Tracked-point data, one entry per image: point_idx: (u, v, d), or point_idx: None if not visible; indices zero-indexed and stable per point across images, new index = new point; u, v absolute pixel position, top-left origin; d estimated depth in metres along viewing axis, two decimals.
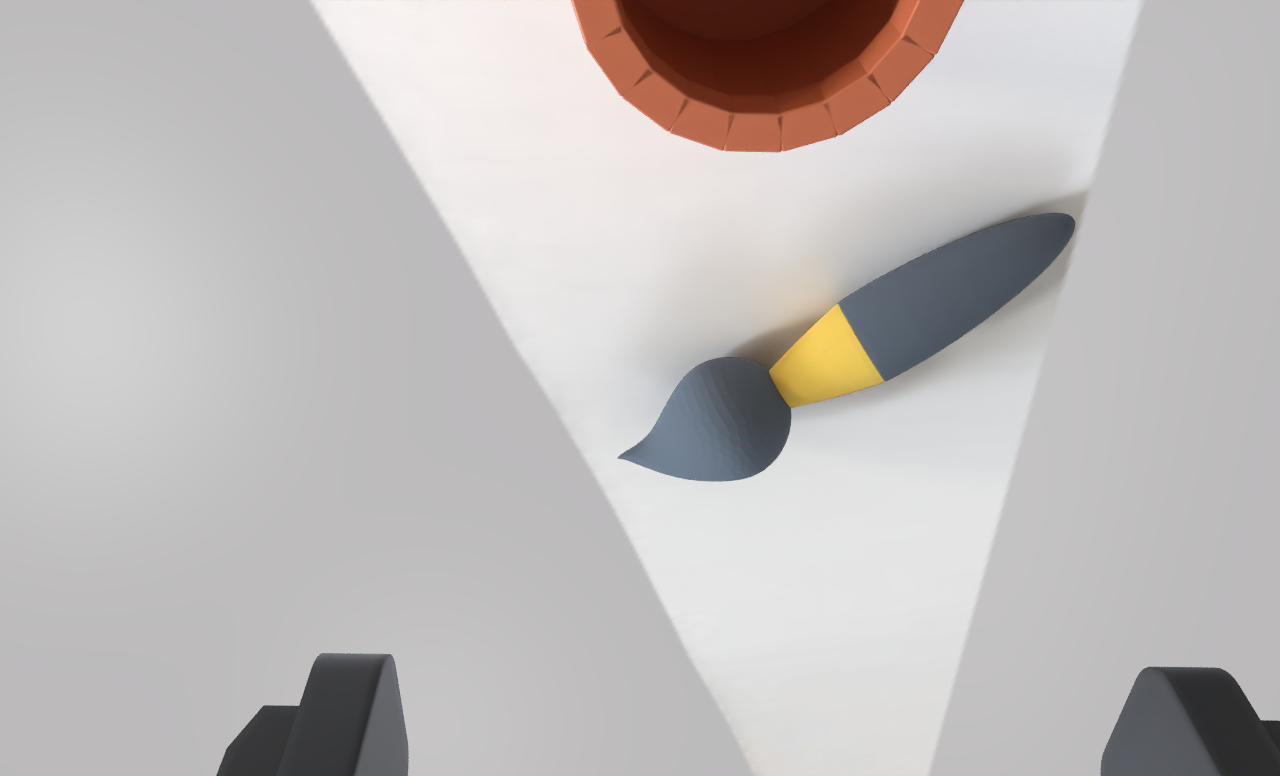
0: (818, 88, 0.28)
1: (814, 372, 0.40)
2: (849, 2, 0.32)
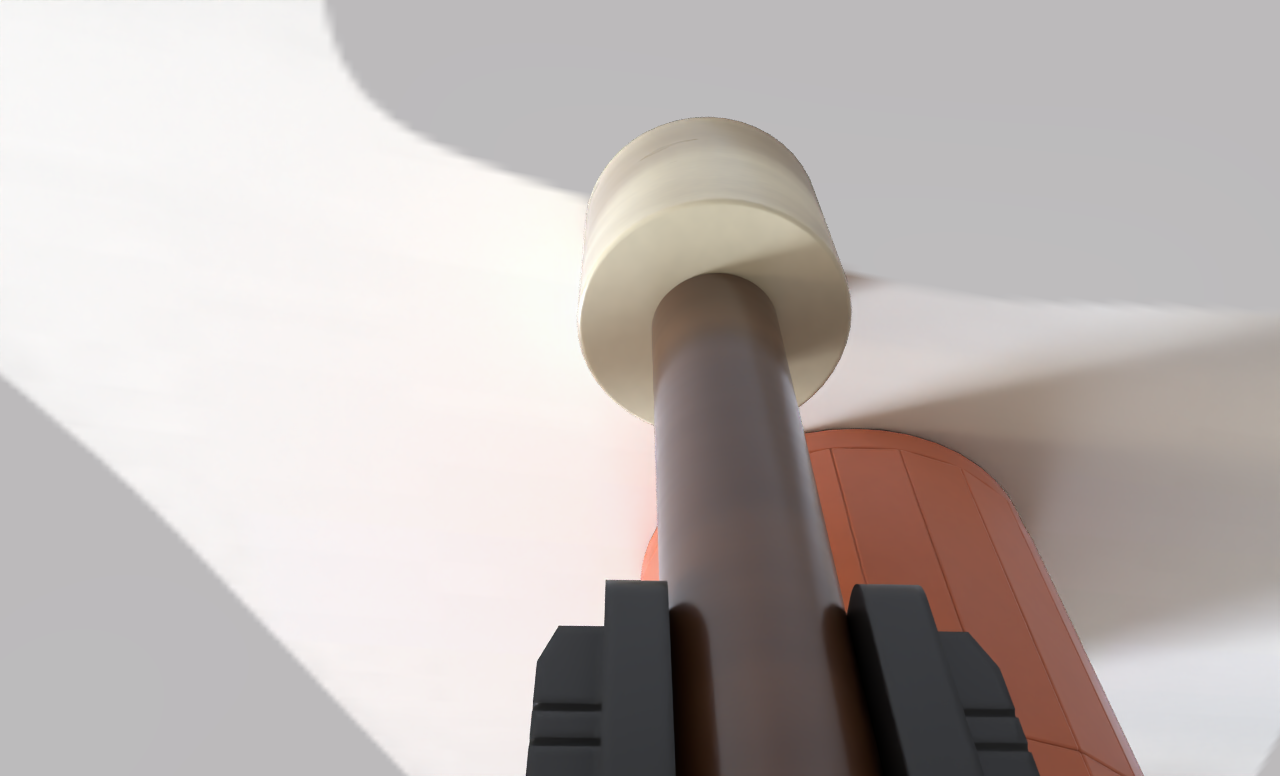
0: None
1: None
2: None
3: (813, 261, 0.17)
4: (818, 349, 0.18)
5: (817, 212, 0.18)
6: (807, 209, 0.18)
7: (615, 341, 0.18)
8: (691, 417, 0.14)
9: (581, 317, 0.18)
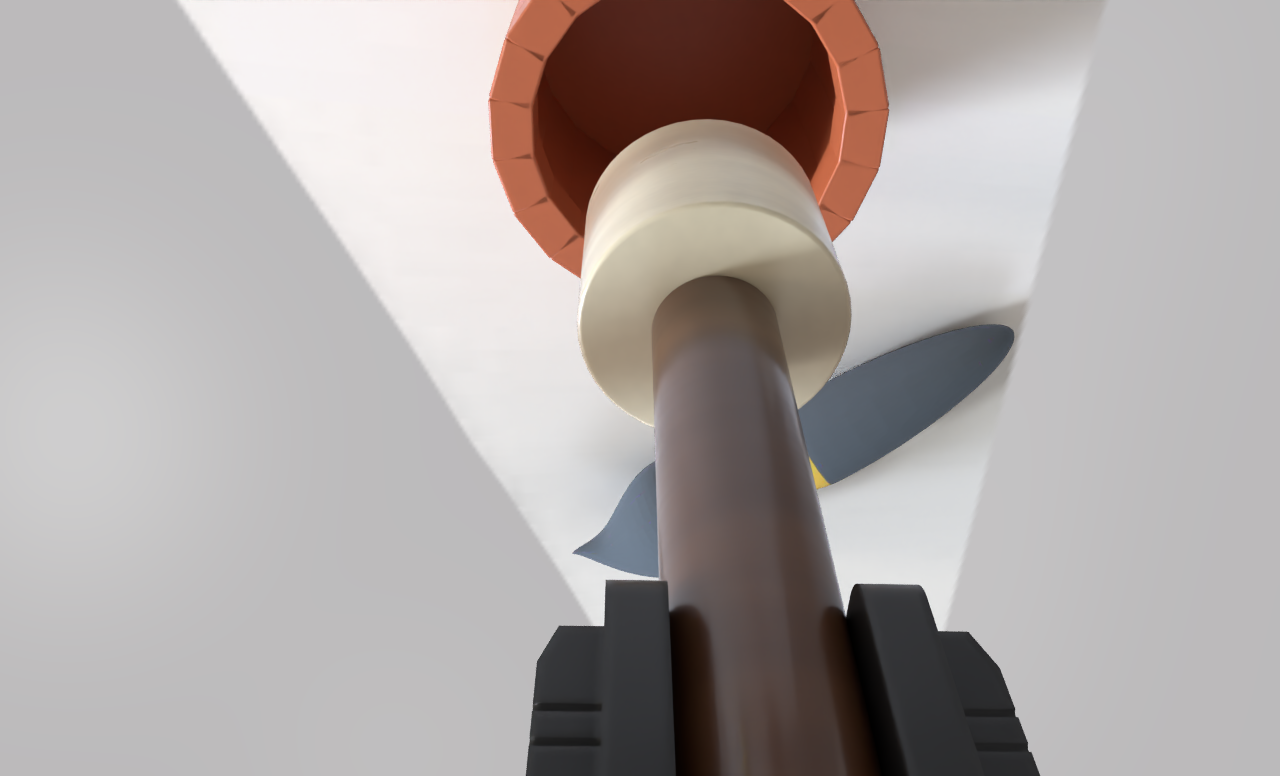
0: None
1: None
2: (783, 139, 0.33)
3: (812, 264, 0.17)
4: (818, 351, 0.18)
5: (817, 214, 0.18)
6: (807, 211, 0.18)
7: (616, 343, 0.18)
8: (691, 419, 0.14)
9: (581, 319, 0.18)
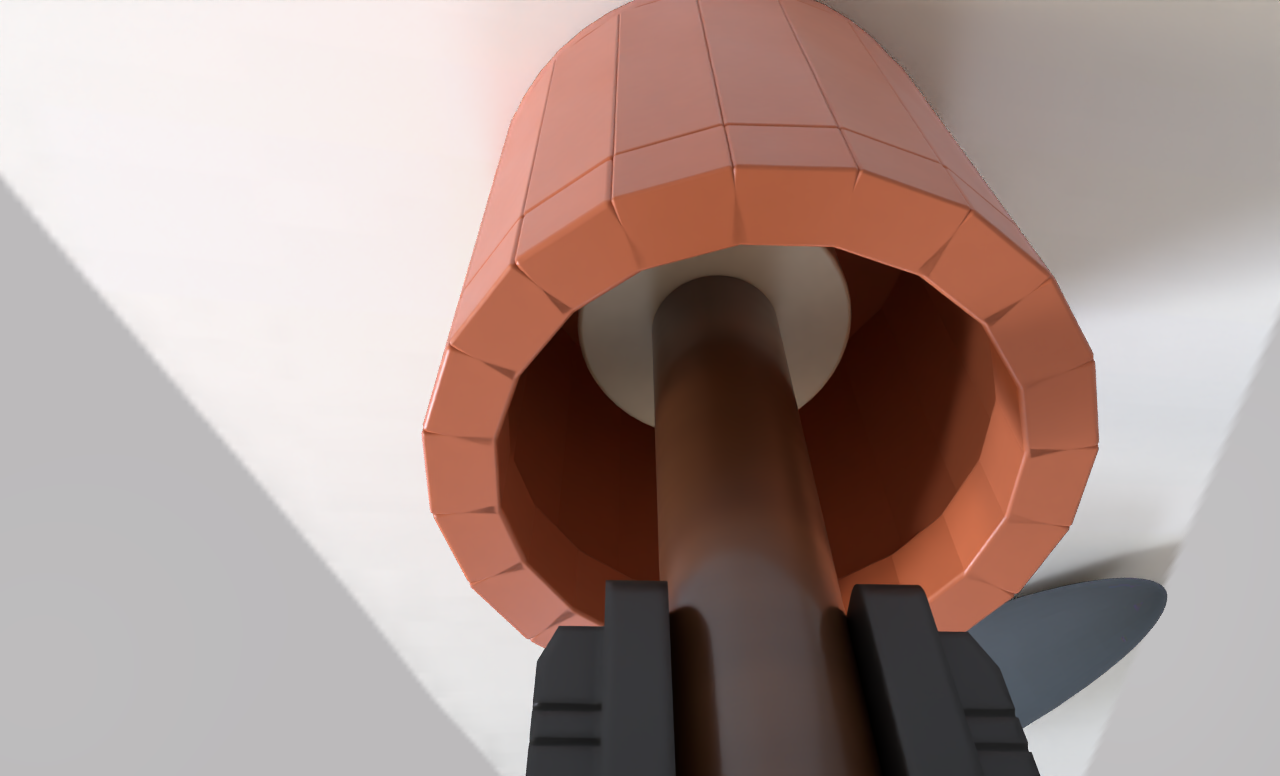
0: None
1: None
2: (873, 375, 0.23)
3: (813, 264, 0.17)
4: (818, 351, 0.18)
5: None
6: None
7: (616, 344, 0.18)
8: (692, 419, 0.14)
9: (582, 319, 0.18)
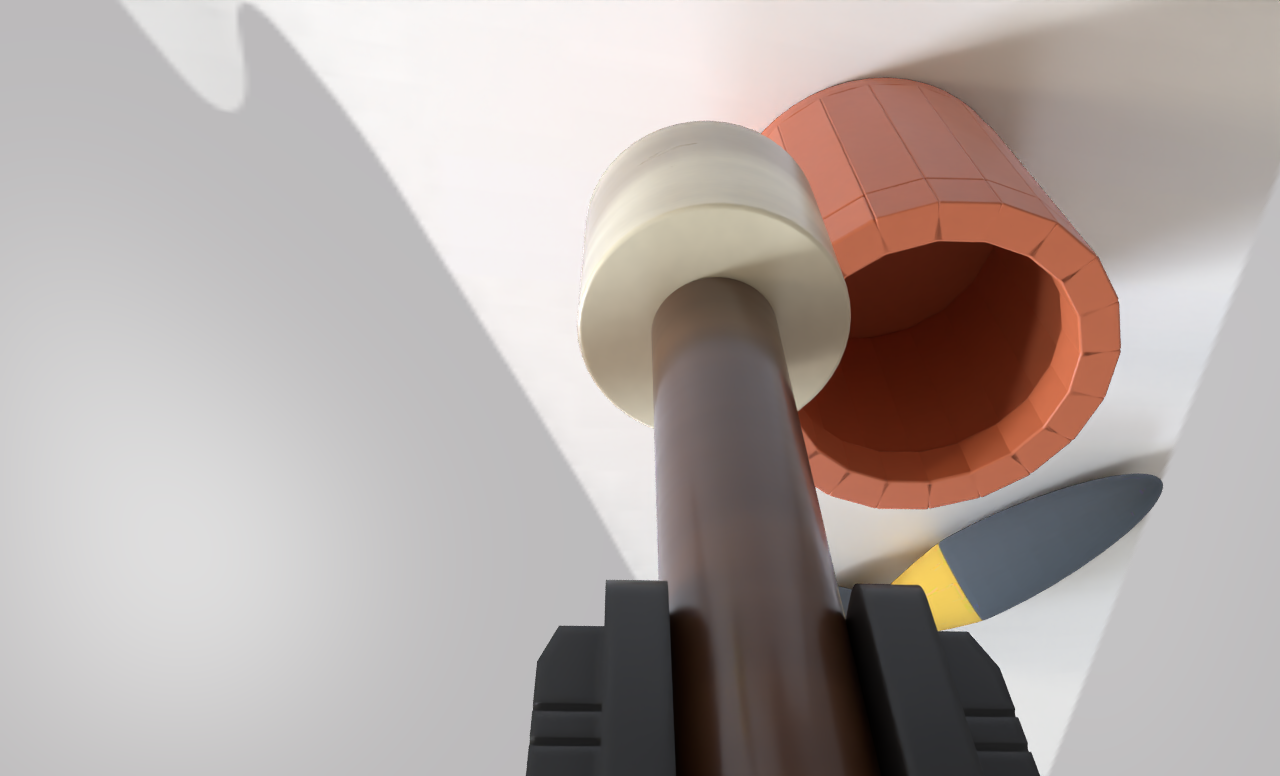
0: (960, 451, 0.31)
1: None
2: (970, 325, 0.36)
3: (813, 266, 0.17)
4: (818, 353, 0.18)
5: (817, 216, 0.18)
6: (807, 213, 0.18)
7: (616, 345, 0.18)
8: (690, 421, 0.14)
9: (581, 321, 0.18)
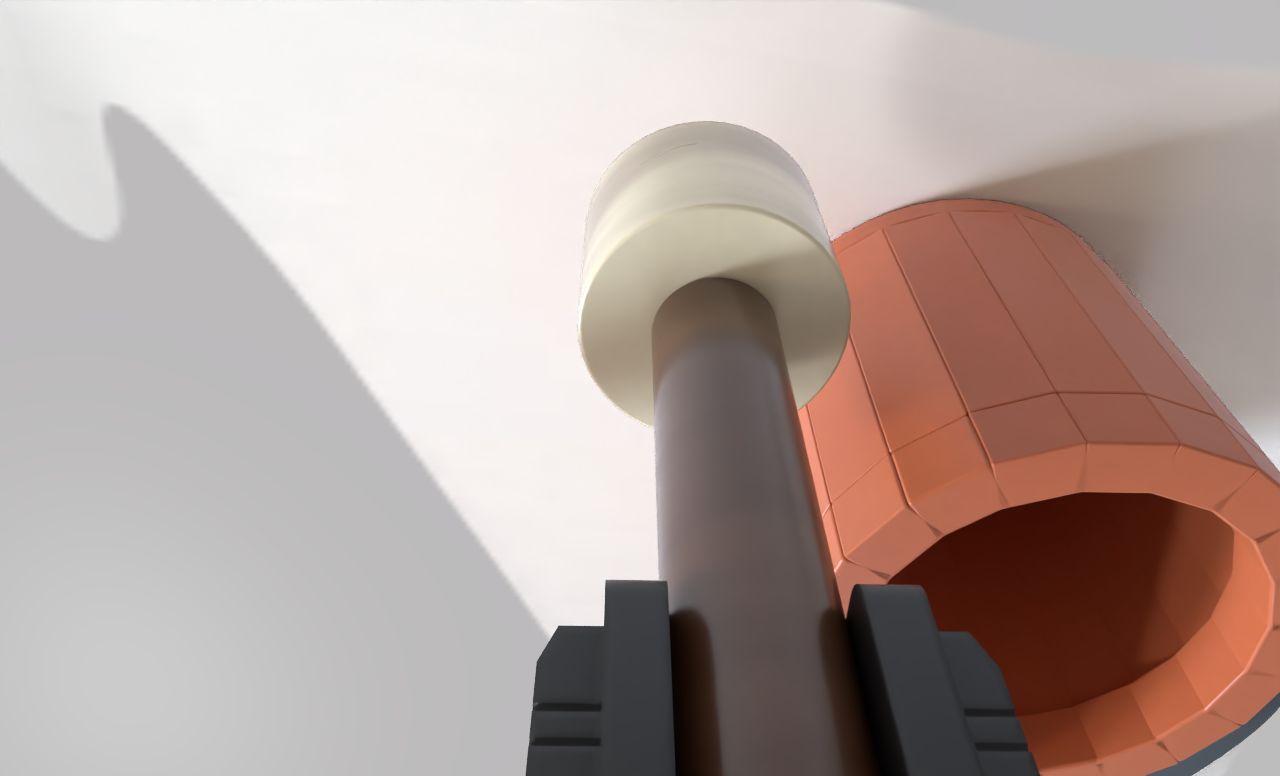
0: (1079, 721, 0.23)
1: None
2: (1072, 511, 0.27)
3: (812, 266, 0.17)
4: (818, 353, 0.18)
5: (817, 216, 0.18)
6: (807, 214, 0.18)
7: (615, 345, 0.18)
8: (691, 421, 0.14)
9: (581, 321, 0.18)
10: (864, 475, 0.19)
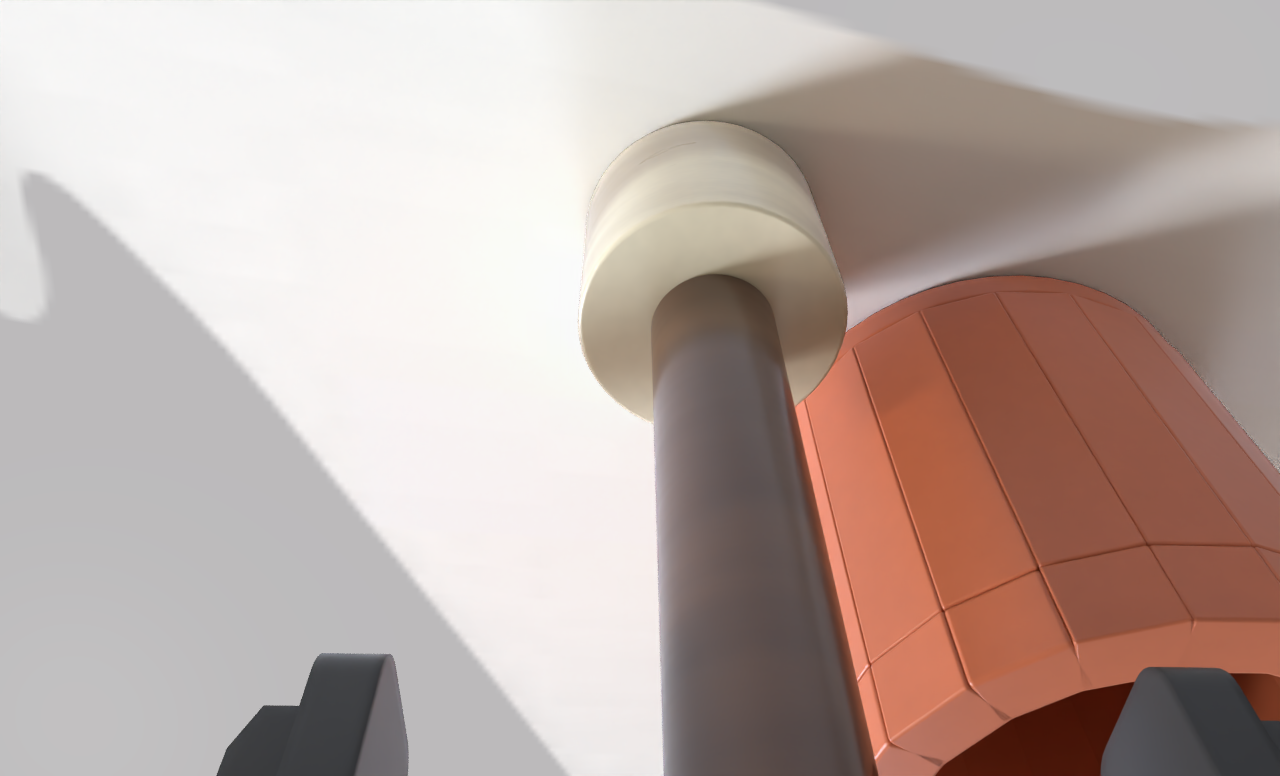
0: None
1: None
2: None
3: (809, 263, 0.17)
4: (815, 349, 0.18)
5: (814, 214, 0.19)
6: (804, 211, 0.18)
7: (615, 341, 0.18)
8: (689, 414, 0.14)
9: (582, 317, 0.18)
10: (911, 634, 0.16)
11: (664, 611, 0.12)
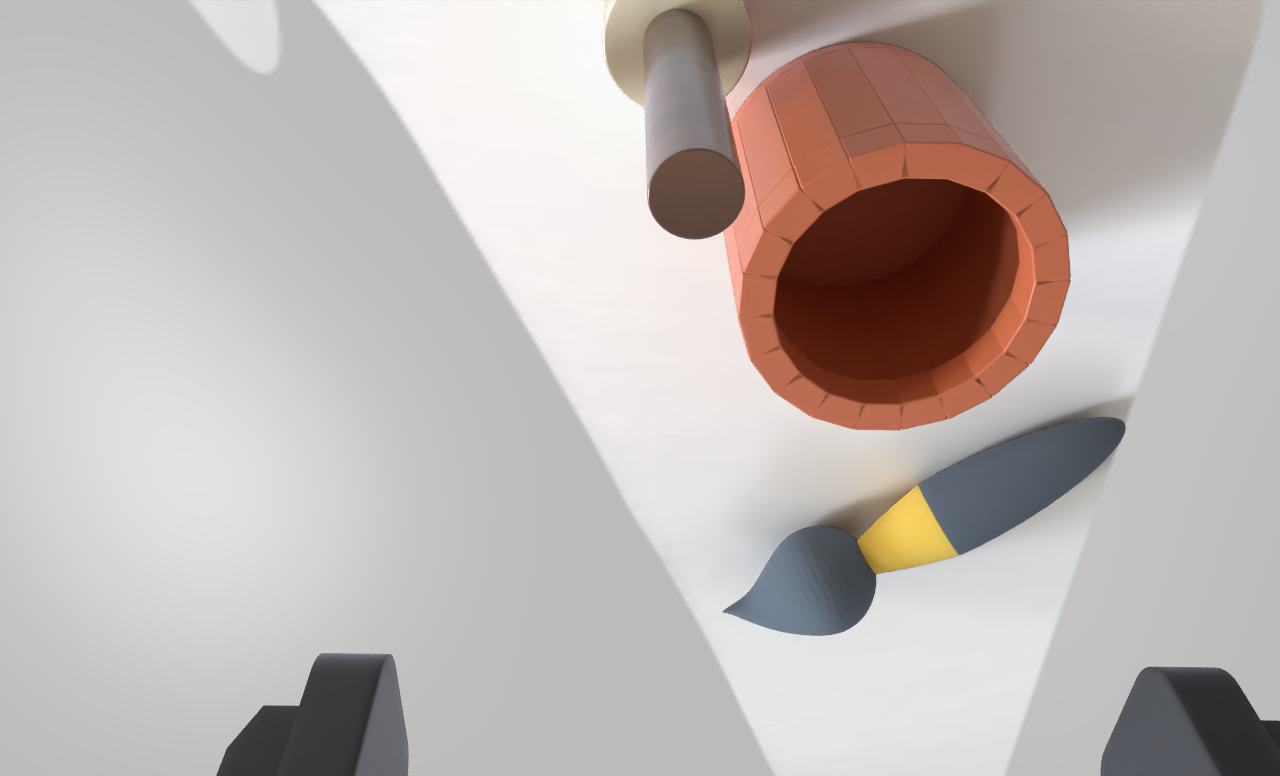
0: (930, 377, 0.34)
1: (899, 549, 0.46)
2: (943, 271, 0.39)
3: (729, 2, 0.32)
4: (734, 57, 0.33)
5: None
6: None
7: (623, 52, 0.33)
8: (661, 50, 0.29)
9: (605, 36, 0.33)
10: (778, 184, 0.31)
11: (647, 107, 0.27)
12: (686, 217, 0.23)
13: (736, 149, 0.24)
